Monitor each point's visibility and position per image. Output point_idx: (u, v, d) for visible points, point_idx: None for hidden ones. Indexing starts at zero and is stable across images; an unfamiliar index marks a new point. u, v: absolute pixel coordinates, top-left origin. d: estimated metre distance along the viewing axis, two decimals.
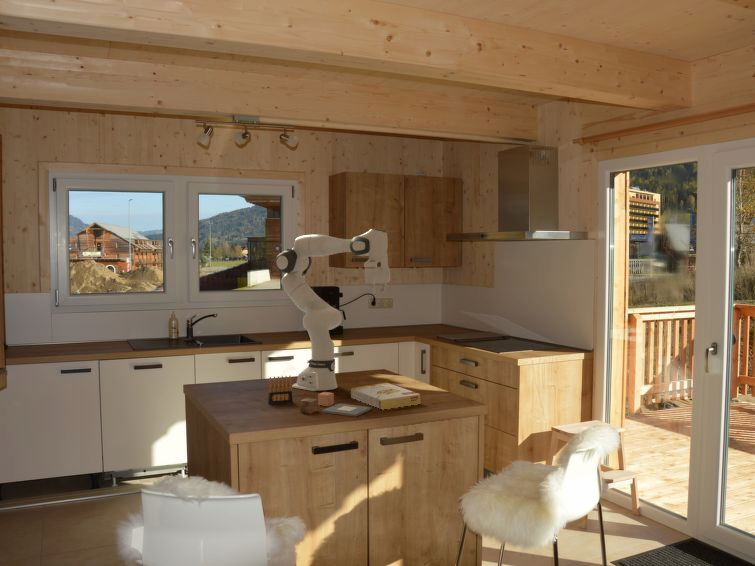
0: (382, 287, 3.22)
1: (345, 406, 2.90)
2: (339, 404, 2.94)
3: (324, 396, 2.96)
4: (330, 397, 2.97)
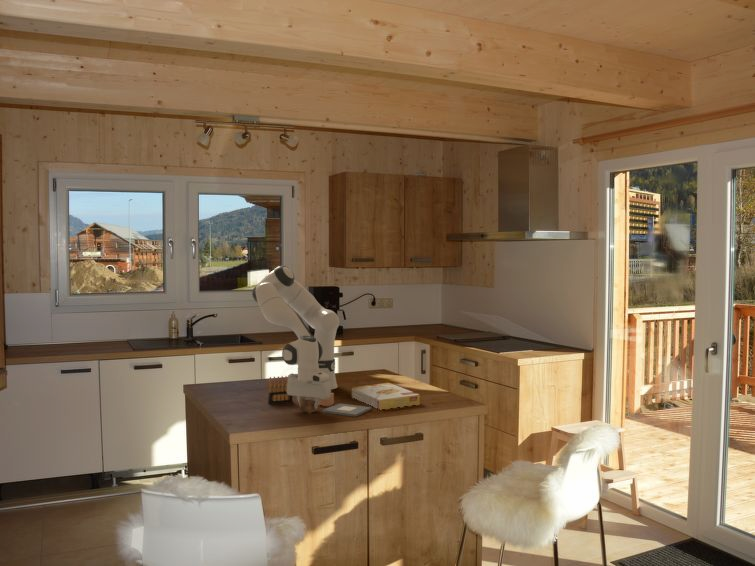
0: None
1: (345, 406, 2.90)
2: (339, 404, 2.94)
3: None
4: (330, 397, 2.97)
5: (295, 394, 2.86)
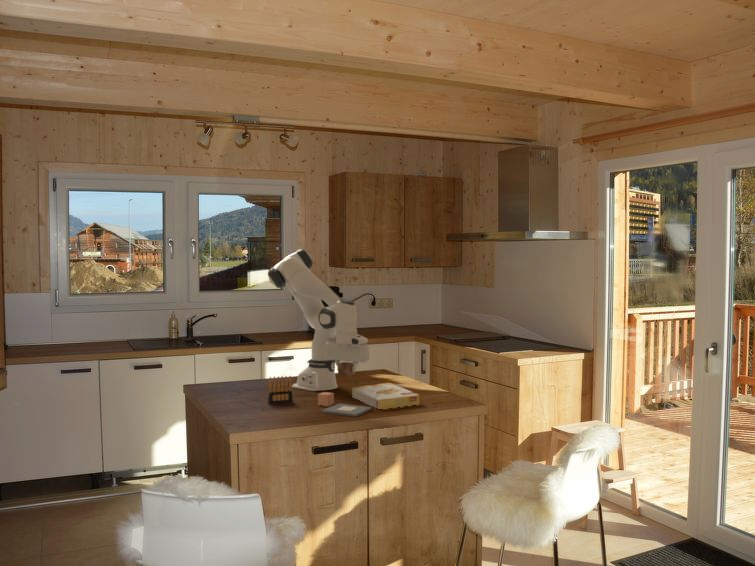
0: None
1: (345, 406, 2.90)
2: (339, 404, 2.94)
3: (324, 396, 2.96)
4: (330, 397, 2.97)
5: (333, 358, 2.86)
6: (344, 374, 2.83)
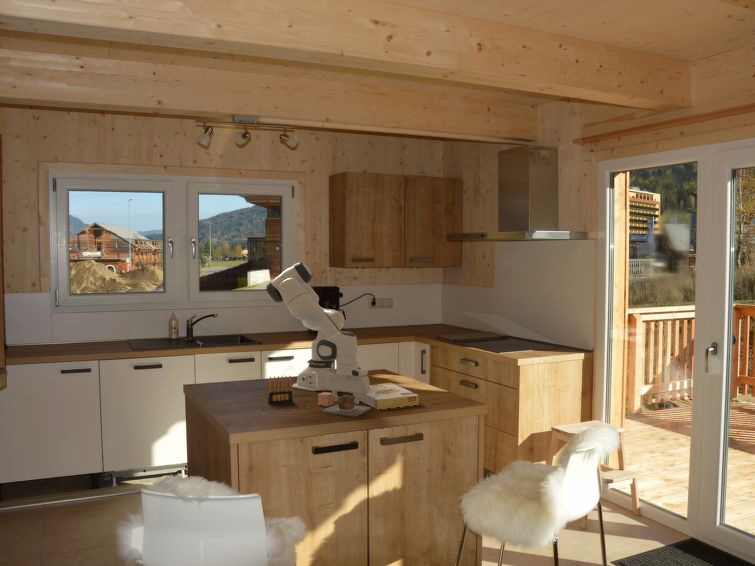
0: (336, 395, 2.89)
1: None
2: None
3: (324, 396, 2.96)
4: (330, 397, 2.97)
5: (333, 389, 2.87)
6: (344, 408, 2.84)
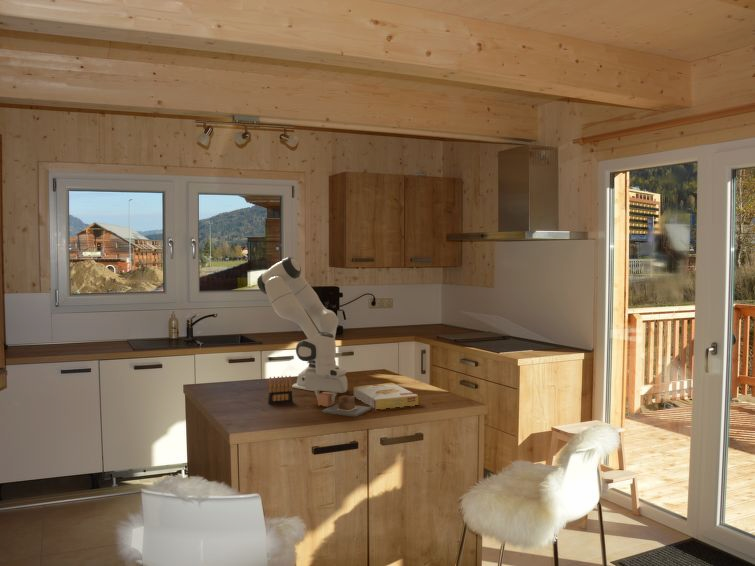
0: None
1: None
2: None
3: (324, 396, 2.96)
4: (330, 397, 2.97)
5: (313, 388, 2.99)
6: (344, 408, 2.84)
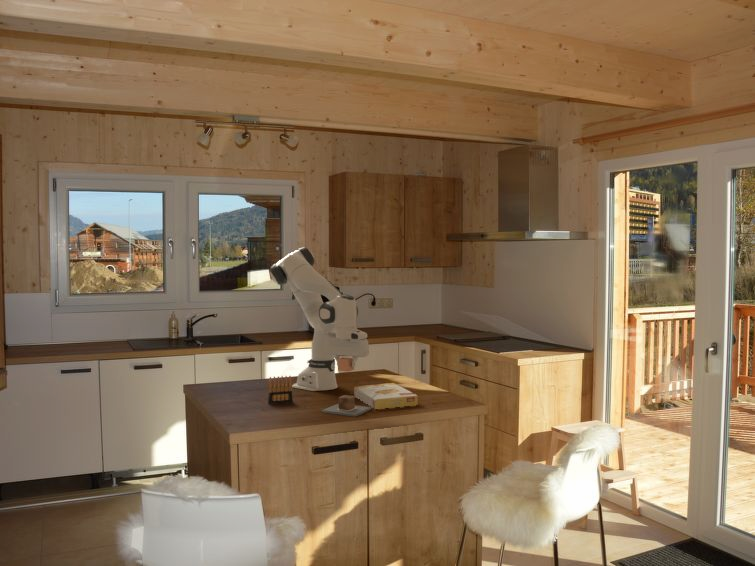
0: None
1: None
2: None
3: (344, 361, 2.83)
4: (350, 362, 2.84)
5: (333, 353, 2.86)
6: (344, 408, 2.84)
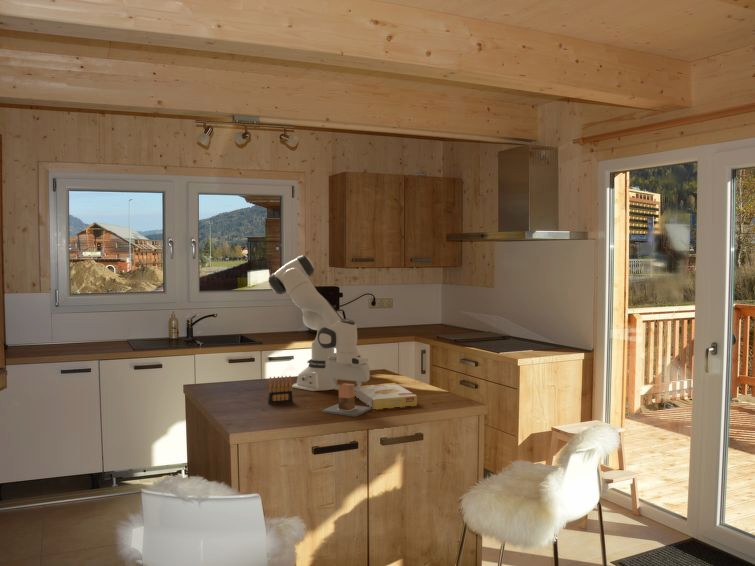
0: (336, 384, 2.88)
1: None
2: None
3: (345, 387, 2.84)
4: (351, 389, 2.85)
5: (333, 377, 2.87)
6: (344, 408, 2.84)
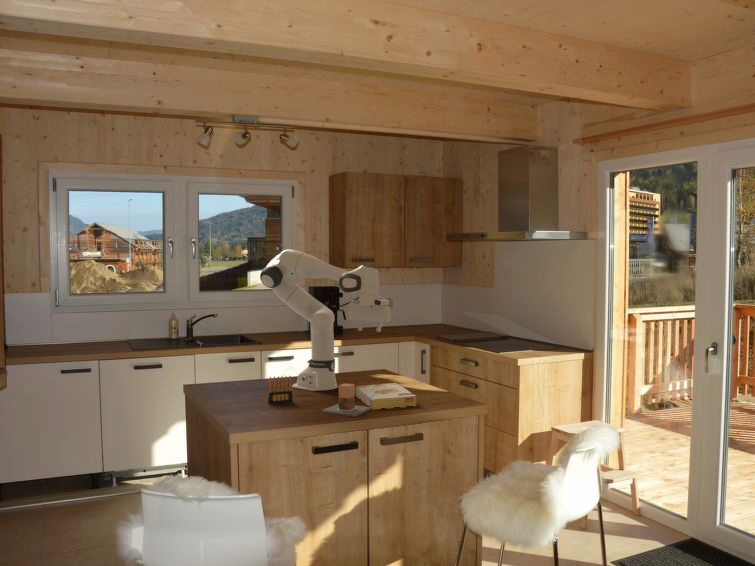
0: (359, 325, 3.09)
1: None
2: None
3: (345, 387, 2.84)
4: (351, 389, 2.85)
5: (357, 319, 3.08)
6: (344, 408, 2.84)
